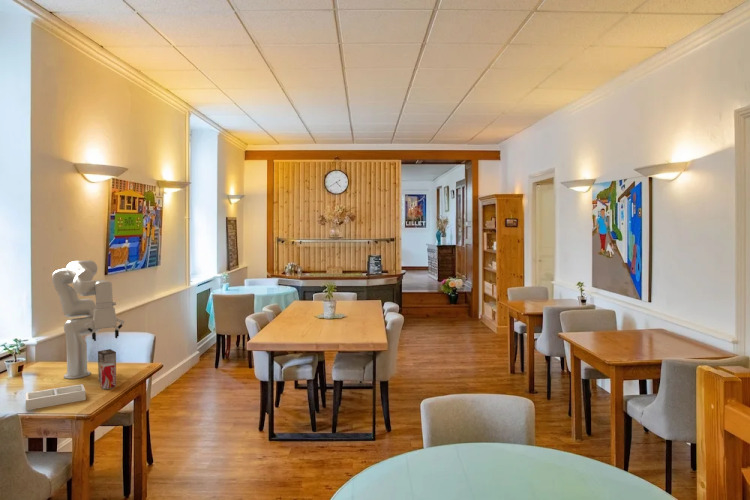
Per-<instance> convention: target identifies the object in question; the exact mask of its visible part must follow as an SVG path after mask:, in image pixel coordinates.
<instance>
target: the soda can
mask: <svg viewBox="0 0 750 500" xmlns="http://www.w3.org/2000/svg"><path fill="white" fill-rule="evenodd" d="M100 374H101V382H100V387H101V389H103V390H110V389H114V388H115V387H116V386H117V365H116V366H115V365H114V363H105V364H102V367H101V371H100Z"/></svg>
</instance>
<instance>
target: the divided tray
mask: <svg viewBox="0 0 750 500" xmlns="http://www.w3.org/2000/svg"><path fill="white" fill-rule="evenodd" d="M86 398H87V397H86V388H85V386H84V384H83V383H81V384H75V385H74V384H73V385H68V386H63V387H56V388H55V387H54V388H50V389H44V390H43V389H42V390H37V391H30V392H26V393H25V410H26V411H31V410H35V409H36V408H37V409H41V408H42V409H43V408H47V407H53V406H58V405H65V404H70V403H76V402H82V401H86Z"/></svg>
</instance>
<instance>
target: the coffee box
mask: <svg viewBox="0 0 750 500" xmlns="http://www.w3.org/2000/svg"><path fill="white" fill-rule="evenodd" d="M97 363H98V365H97V367H98V370H97V372H98V375H97V376H98V381H99V382H100V383H101V374H100V371H101V367H102V364H105V363H114V365H115V366H116V367H117V352H116V351H114V350H112V349H111V348H110V349H103V350H99V351H97Z"/></svg>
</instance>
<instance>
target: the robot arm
mask: <svg viewBox="0 0 750 500" xmlns="http://www.w3.org/2000/svg"><path fill="white" fill-rule="evenodd" d="M97 273H98V264H97V263H96V262H95V261H93V260H91V259H90V260H88V259H87V260H74V261H70V262H69V263H68V264H67V265H66V267H65V268H60V269H57V270H55V271H54V272H53V273H52V275H51V278H52V279H51V281H52V285H53V287H54V289H55V291H56V292H57V295H58V296H59V300H60V305H61V310H62V312H63V313H62V314H63V315H64V317H66V318H70V319H68V320H66V321H65V323H63V324H64V325H63V331H64V337H65V342H66V343H65V345H66V347H65V348H66V373H65V374H63V378H65V379H69V380H72V379H74V380H75V379H80V378H85V377H88V376H90V375H91V373H92V372H91V371H90V370H88V346H87V340H85V338H84V337H82V336H85V335H91V339H92V340H93V341H94V342H96V341H97V334H96V333H98V332H99V331H100V330H102V329H109V328H114V329H115V330H114V338H115V339H118V337H119V336H120V335H119V334H120V333H119V332H120V331H119V330H120V329H121V328H122V327H123V325H124V323H125V320H123V319H120V318H117V313H116V309H115V307H114V306H116V305H117V302H116V301H115V302H114V301H113V298H114V297H113V283H112V282H111V281H110V280H105V279H98V280H96V279H95V280H93V278H94V276H95V275H96V274H97ZM69 284H72V286H73V287H72V286H70V285H69ZM78 295H79V296H82V297H90V296H91V297H92V296H95V301H94V300H93V299H91V298H81V299H80V298H79V296H78ZM117 322H118V323H119V325H118V324H117ZM117 325H118V326H117Z"/></svg>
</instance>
